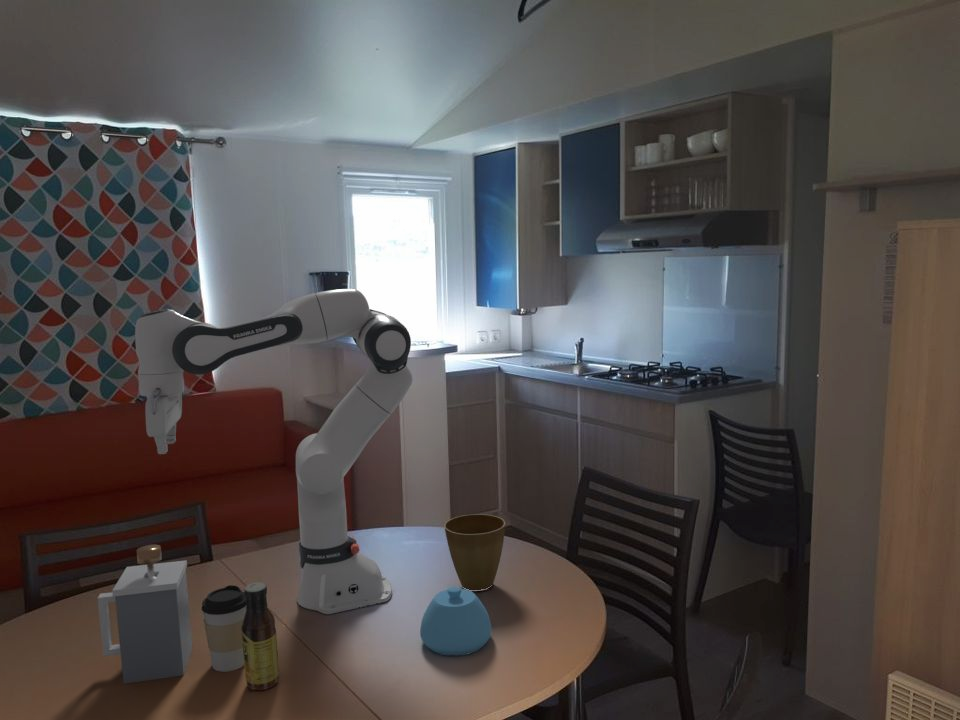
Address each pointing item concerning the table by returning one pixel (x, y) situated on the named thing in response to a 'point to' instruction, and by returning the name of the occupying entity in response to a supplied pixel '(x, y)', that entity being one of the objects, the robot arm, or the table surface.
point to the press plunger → (149, 557)
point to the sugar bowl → (455, 623)
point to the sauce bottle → (259, 640)
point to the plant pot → (475, 548)
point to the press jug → (149, 622)
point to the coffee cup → (225, 627)
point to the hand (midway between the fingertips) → (167, 448)
